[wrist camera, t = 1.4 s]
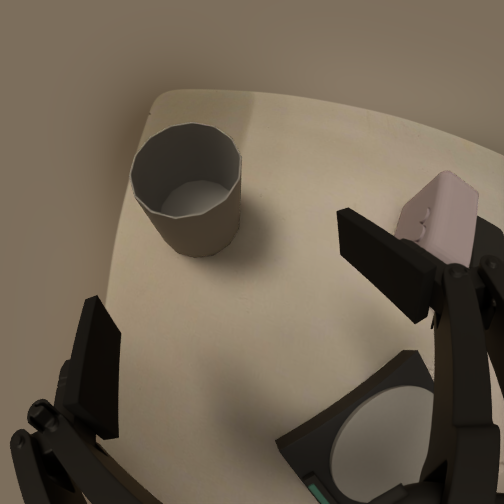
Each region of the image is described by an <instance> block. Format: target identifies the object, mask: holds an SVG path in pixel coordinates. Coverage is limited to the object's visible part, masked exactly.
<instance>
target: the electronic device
mask: <svg viewBox="0 0 504 504" xmlns="http://www.w3.org/2000/svg"><path fill="white" fill-rule="evenodd" d="M478 197H479V195H478V192H477V191H476V190H475V189H474V188H472V187H471V186H470V185H469V184H467V183H466V182H465V181H464V180H462V179H461V178H460V177H458V176H457V175H456V174H454V173H453V172H451V171H443V172H441V173H439V174H438V175H437V176H436V177H435V178H434V179H433V180H432V181H431V182H430V183H428V184H427V185H426V186H425V187H424V188H423V189H422V190H421V191H420V192H419V193H417V194H416V195H415V196H414V197H413V198H412V199H411V200H410V201H409V202H407V203H406V204H405V206H404V207H403V209H402V212H401V216H400V219H399V222H398V225H397V229H396V232H395V235H394V237H396V238H397V239H399V240H400V239H402V238H404V239H407V240H411V241H413V242H415V243H416V244H418V245H419V246H420V247H422V248H424V249H425V250H426V251H428V252H430V253H431V254H433V255H434V256H436V257H437V258H439V259H440V260H441V261H443V262H444V263H446V264H450V263H458V264H462V265H464V266H466V267H467V268H468V266H469V264H470V260H471V254H472V248H473V242H474V235H475V227H476V219H477V209H478Z"/></svg>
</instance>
